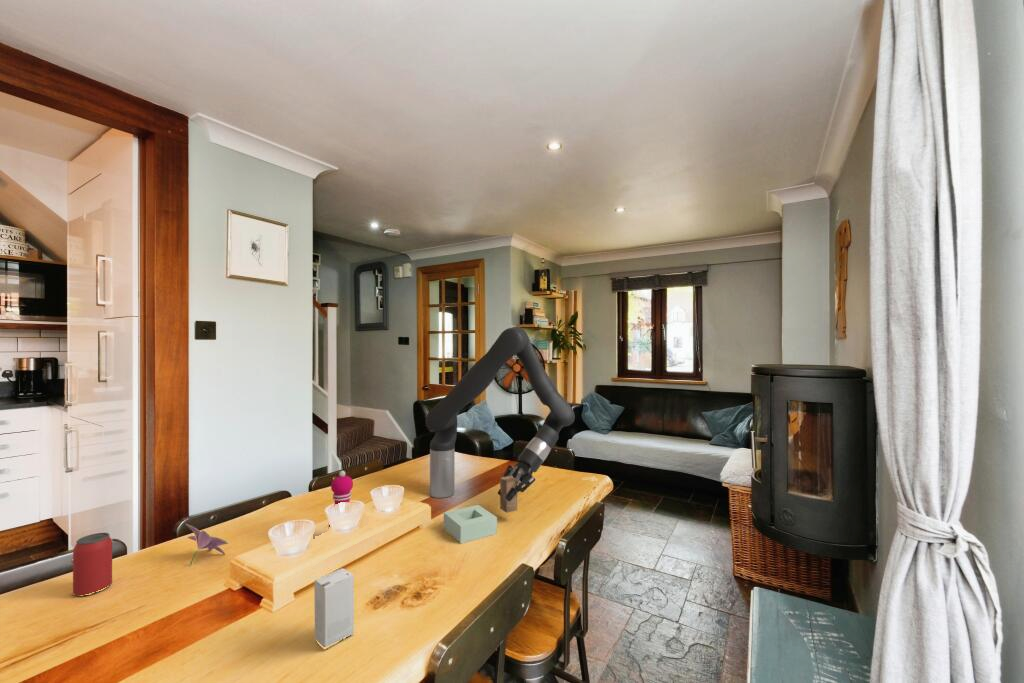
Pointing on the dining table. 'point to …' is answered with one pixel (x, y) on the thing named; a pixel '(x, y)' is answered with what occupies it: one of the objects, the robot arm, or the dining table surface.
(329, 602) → the skincare box
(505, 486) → the peg
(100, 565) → the beer can
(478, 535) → the socket
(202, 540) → the lily
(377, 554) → the dining table surface
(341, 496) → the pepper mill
